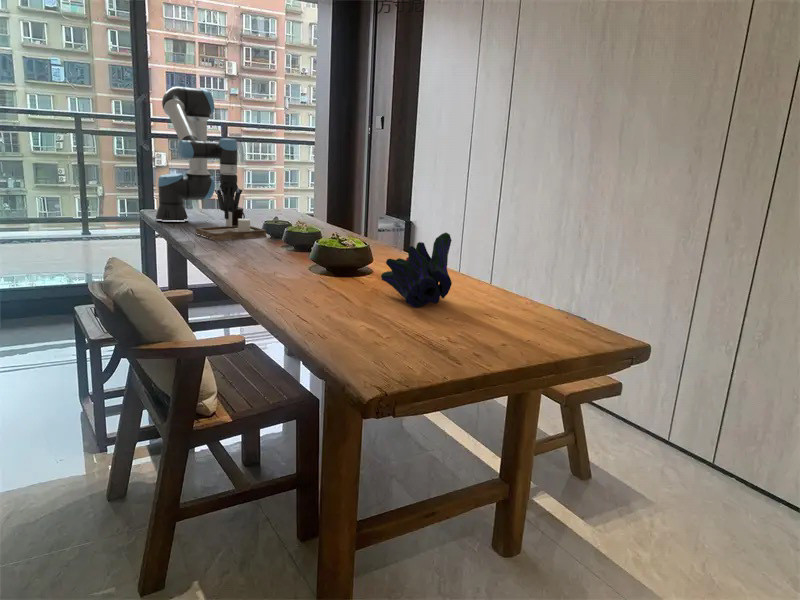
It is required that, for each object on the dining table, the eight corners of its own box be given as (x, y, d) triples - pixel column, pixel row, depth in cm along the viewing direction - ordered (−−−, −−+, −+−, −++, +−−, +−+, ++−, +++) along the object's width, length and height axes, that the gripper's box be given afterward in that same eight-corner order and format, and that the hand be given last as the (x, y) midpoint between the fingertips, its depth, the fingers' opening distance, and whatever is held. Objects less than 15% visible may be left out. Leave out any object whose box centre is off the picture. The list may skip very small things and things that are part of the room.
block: (238, 229, 289) (237, 218, 288) (249, 229, 291) (249, 218, 290) (239, 231, 285) (238, 220, 283) (250, 231, 286) (250, 220, 285)
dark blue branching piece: (400, 335, 189) (386, 286, 215) (480, 307, 189) (457, 261, 214) (378, 281, 178) (366, 236, 203) (464, 250, 178) (441, 209, 203)
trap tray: (195, 234, 280) (195, 228, 279) (246, 230, 298) (246, 224, 298) (214, 240, 269) (214, 234, 268) (266, 236, 287) (266, 230, 286)
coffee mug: (223, 227, 305) (223, 206, 302) (241, 227, 308) (241, 206, 306) (228, 231, 295) (227, 210, 292) (246, 230, 298) (246, 210, 296)
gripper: (220, 174, 272) (220, 228, 278) (245, 174, 281) (245, 226, 287) (211, 173, 277) (212, 225, 283) (236, 173, 286) (237, 224, 292)
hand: (229, 226), depth 285 cm, fingers closed
